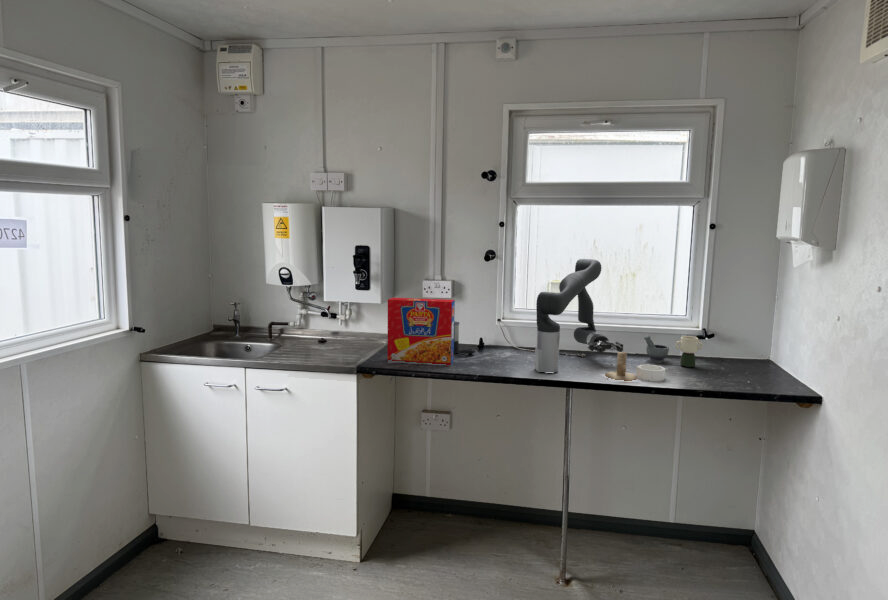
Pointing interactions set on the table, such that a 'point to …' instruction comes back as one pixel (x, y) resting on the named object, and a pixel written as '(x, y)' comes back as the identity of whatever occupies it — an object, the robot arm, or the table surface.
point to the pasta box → (421, 330)
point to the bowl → (651, 372)
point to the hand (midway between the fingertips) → (611, 350)
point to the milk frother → (456, 341)
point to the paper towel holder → (621, 369)
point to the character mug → (688, 350)
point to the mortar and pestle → (656, 351)
